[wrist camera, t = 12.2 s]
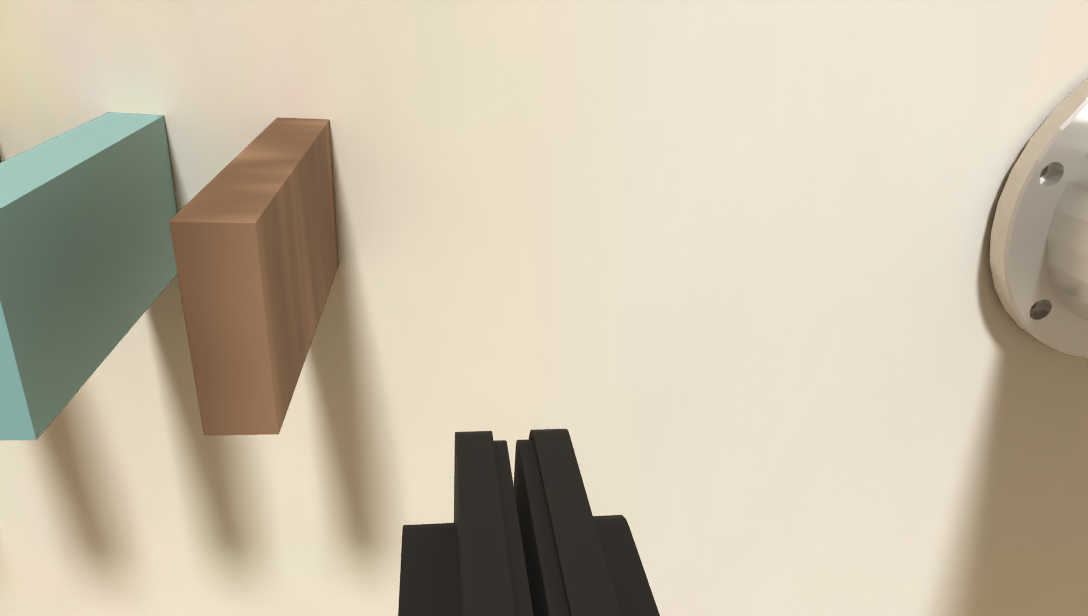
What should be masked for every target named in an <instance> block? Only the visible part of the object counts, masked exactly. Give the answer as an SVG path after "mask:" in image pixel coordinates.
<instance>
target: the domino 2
mask: <svg viewBox="0 0 1088 616" xmlns="http://www.w3.org/2000/svg"><path fill="white" fill-rule="evenodd" d="M169 225H170V231H171V237H172V243H173V249H174V256H175V262H176V268H177V274H178V280H179V286H180V292H181V298H182V304H183V310H184V316H185V322H186V328H187V334H188V341H189V347H190V353H191V359H192V365H193V371H194V377H195V383H196V389H197V395H198V401H199V407H200V413H201V420H202V426H203V432H204V435H258V434H279V432H280V429H281V426H282V424H283V421H284V418H285V415H286V412H287V409H288V407H289V404H290V401H291V398H292V395H293V393H294V390H295V387H296V384H297V381H298V378H299V376H300V373H301V370H302V367H303V364H304V362H305V359H306V356H307V353H308V350H309V347H310V345H311V342H312V339H313V336H314V333H315V330H316V328H317V325H318V322H319V319H320V316H321V314H322V311H323V308H324V305H325V302H326V299H327V297H328V294H329V291H330V288H331V285H332V283H333V280H334V277H335V274H336V271H337V268H338V266H339V265H338V249H337V233H336V217H335V201H334V185H333V169H332V153H331V137H330V121H329V120H323V119H297V118H276V119H275V120H274V121H273V122H272V123H271V124H270V125H269V126H268V127H267V128H266V129H265V130H264V131H263V132H262V133H261V134H260V135H259V136H258V137H257V138H255V139H254V140H253V141H252V142H251V143H250V144H249V145H248V146H247V147H246V148H245V149H244V150H243V151H242V152H241V153H240V154H239V155H238V156H237V157H236V158H235V159H234V160H233V161H232V162H230V163H229V164H228V165H227V166H226V167H225V168H224V169H223V170H222V171H221V172H220V173H219V174H218V175H217V176H216V177H215V178H214V179H213V180H212V181H211V182H210V183H209V184H208V185H206V186H205V187H204V188H203V189H202V190H201V191H200V192H199V193H198V194H197V195H196V196H195V197H194V198H193V199H192V200H191V201H190V202H189V203H188V204H187V205H186V206H185V207H184V208H182V209H181V210H180V211H179V212H178V213H177V214H176V215H175V216H174V217H173V218H172V219H171V220H170V221H169Z"/></svg>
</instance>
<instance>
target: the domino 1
mask: <svg viewBox="0 0 1088 616" xmlns="http://www.w3.org/2000/svg"><path fill="white" fill-rule="evenodd" d="M176 214H177V207H176V200H175V193H174V186H173V178H172V171H171V164H170V156H169V149H168V142H167V135H166V127H165V120H164V115H148V114H130V113H112V112H108V113H106V114H104V115H102V116H99V117H97V118H95V119H93V120H91V121H89V122H87V123H84V124H82V125H80V126H78V127H76V128H74V129H72V130H69V131H67V132H65V133H63V134H61V135H59V136H57V137H55V138H52V139H50V140H48V141H46V142H44V143H42V144H40V145H37V146H35V147H33V148H31V149H29V150H27V151H25V152H22V153H20V154H18V155H16V156H14V157H12V158H10V159H7V160H5V161H3V162H1V163H0V440H37V439H38V437H39V436H40V435H41V434H42V433H43V431H44V430H45V429H46V428H47V427H48V426H49V424H50V423H51V422H52V421H53V420H54V418H55V417H56V416H57V415H58V414H59V413H60V411H61V410H62V409H63V408H64V407H65V406H66V404H67V403H68V402H69V401H70V400H71V398H72V397H73V396H74V395H75V394H76V393H77V391H78V390H79V389H80V388H81V387H82V385H83V384H84V383H85V382H86V381H87V380H88V378H89V377H90V376H91V375H92V374H93V372H94V371H95V370H96V369H97V368H98V367H99V365H100V364H101V363H102V362H103V361H104V359H105V358H106V357H107V356H108V355H109V354H110V352H111V351H112V350H113V349H114V348H115V346H116V345H117V344H118V343H119V342H120V341H121V339H122V338H123V337H124V336H125V335H126V333H127V332H128V331H129V330H130V329H131V328H132V326H133V325H134V324H135V323H136V322H137V320H138V319H139V318H140V317H141V316H142V315H143V313H144V312H145V311H146V310H147V309H148V308H149V306H150V305H151V304H152V303H153V302H154V300H155V299H156V298H157V297H158V296H159V295H160V293H161V292H162V291H163V290H164V289H165V287H166V286H167V285H168V284H169V283H170V282H171V280H172V279H173V278H174V277H175V276H176V274H177V268H176V262H175V256H174V249H173V243H172V237H171V231H170V225H169V221H170V220H171V219H172V218H173V217H174V216H175V215H176Z"/></svg>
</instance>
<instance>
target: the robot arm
mask: <svg viewBox="0 0 1088 616" xmlns="http://www.w3.org/2000/svg"><path fill="white" fill-rule="evenodd" d="M990 266H991V272H992V277H993V283H994V288H995V290H996V292H997V294H998V296H999V299H1000V301H1001V303H1002V305H1003V308H1004V309H1005V310H1006V312H1007V313H1008V314H1009V315H1010V317H1011V318H1012V319H1013V320H1014V321H1015V323H1016V324H1017V325H1018V326H1019V327H1021V328H1022V329H1023V330H1025V331H1026V332H1028V333H1029V334H1030V335H1032V336H1033V337H1035V338H1036V339H1037V340H1039V341H1040V342H1042V343H1044V344H1046V345H1047V346H1049V347H1051V348H1053V349H1055V350H1057V351H1059V352H1061V353H1064V354H1068V355H1072V356H1076V357H1081V358H1085V359H1088V79H1086V80H1085V81H1084V82H1083V83H1082V84H1081V85H1079V86H1078V87H1077V88H1076V89H1075V90H1074V91H1073V92H1072V93H1071V94H1070V95H1069V96H1068V97H1067V98H1066V99H1065V100H1063V101H1062V102H1061V103H1060V104H1059V105H1058V106H1057V107H1056V108H1055V109H1054V110H1053V112H1052V113H1051V114H1050V115H1049V116H1048V118H1047V119H1046V120H1045V121H1044V123H1043V124H1042V125H1041V126H1040V128H1039V129H1038V130H1037V131H1036V132H1035V134H1034V135H1033V136H1032V137H1031V139H1030V140H1029V142H1028V144H1027V145H1026V147H1025V149H1024V150H1023V152H1022V154H1021V155H1020V157H1019V158H1018V160H1017V162H1016V163H1015V165H1014V167H1013V168H1012V170H1011V172H1010V175H1009V177H1008V180H1007V182H1006V184H1005V187H1004V189H1003V192H1002V194H1001V196H1000V199H999V201H998V205H997V209H996V213H995V217H994V222H993V226H992V230H991V242H990ZM398 616H660V615H659V612H658V609H657V606H656V603H655V600H654V597H653V595H652V592H651V589H650V586H649V583H648V580H647V577H646V574H645V571H644V568H643V566H642V563H641V560H640V557H639V554H638V551H637V548H636V545H635V542H634V539H633V536H632V534H631V531H630V528H629V525H628V523H627V521H626V519H625V518H624V517H623V516H622V515H611V516H593V515H592V512H591V508H590V505H589V501H588V498H587V494H586V491H585V487H584V484H583V480H582V477H581V474H580V470H579V467H578V463H577V460H576V456H575V453H574V449H573V446H572V442H571V439H570V435H569V432H568V430H567V429H545V430H531V431H530V434H529V440H517V442H516V453H515V472H514V486H513V480H512V473H511V467H510V460H509V454H508V447H507V442H506V440H502V441H493V435H492V431H476V432H455V474H454V523H442V524H421V525H403V533H402V552H401V572H400V592H399V612H398Z"/></svg>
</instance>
